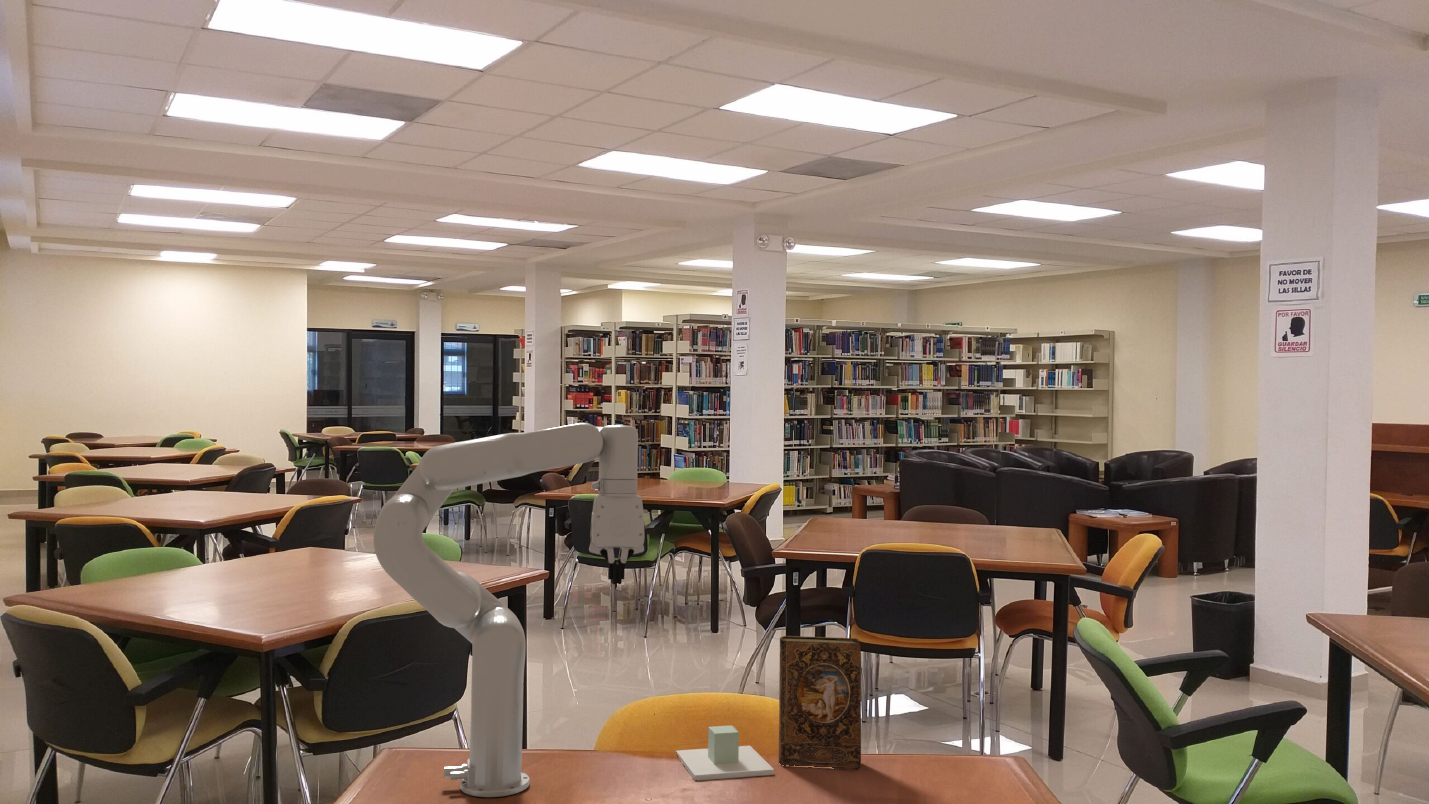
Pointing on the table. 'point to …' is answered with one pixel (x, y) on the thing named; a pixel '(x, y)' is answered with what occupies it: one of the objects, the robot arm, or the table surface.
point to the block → (723, 744)
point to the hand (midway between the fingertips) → (616, 583)
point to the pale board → (706, 770)
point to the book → (820, 702)
